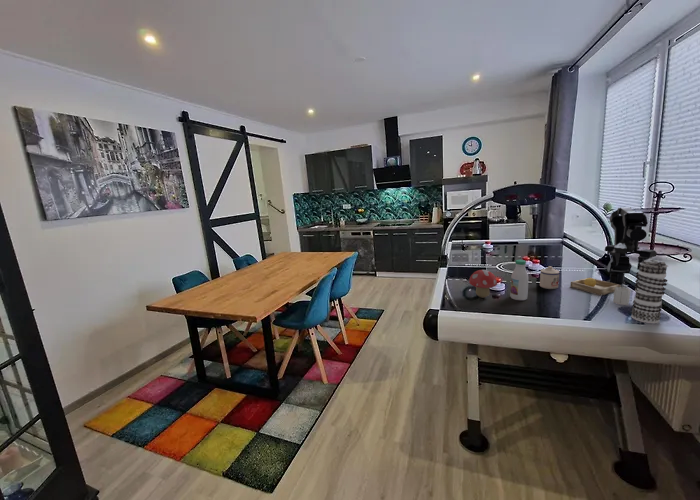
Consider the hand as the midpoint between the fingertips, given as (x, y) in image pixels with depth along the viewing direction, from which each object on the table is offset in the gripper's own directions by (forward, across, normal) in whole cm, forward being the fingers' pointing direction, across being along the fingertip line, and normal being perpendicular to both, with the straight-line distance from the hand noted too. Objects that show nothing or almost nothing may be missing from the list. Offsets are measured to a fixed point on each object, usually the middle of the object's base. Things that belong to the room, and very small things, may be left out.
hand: (627, 267), depth 149 cm
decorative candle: (+13, +22, -27) cm, 37 cm away
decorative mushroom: (+13, -27, -66) cm, 73 cm away
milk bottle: (+13, -18, -51) cm, 56 cm away
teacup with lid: (+13, -23, -22) cm, 34 cm away
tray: (+13, -10, -7) cm, 18 cm away
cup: (+13, +8, -17) cm, 23 cm away
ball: (+10, -11, -8) cm, 17 cm away
